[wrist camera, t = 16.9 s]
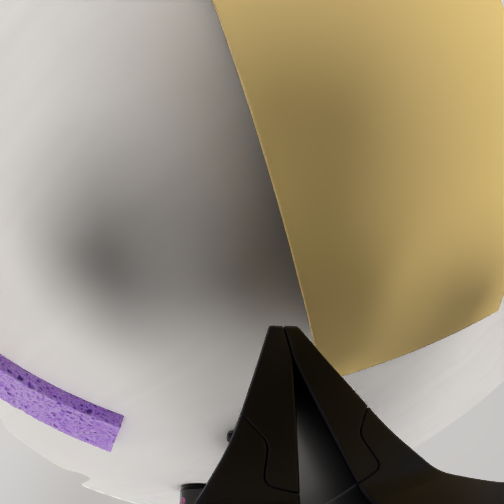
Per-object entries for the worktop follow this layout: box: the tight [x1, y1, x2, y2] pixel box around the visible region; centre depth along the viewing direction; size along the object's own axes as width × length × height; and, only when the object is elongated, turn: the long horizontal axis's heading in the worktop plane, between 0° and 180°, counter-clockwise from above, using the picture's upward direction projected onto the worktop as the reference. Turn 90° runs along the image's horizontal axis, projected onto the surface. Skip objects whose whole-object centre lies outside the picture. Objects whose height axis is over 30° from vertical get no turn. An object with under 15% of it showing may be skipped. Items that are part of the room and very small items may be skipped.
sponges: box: [0, 354, 124, 452], centre depth 17 cm, size 7×13×2 cm, turn 60°
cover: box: [212, 0, 504, 376], centre depth 7 cm, size 17×9×2 cm, turn 17°
